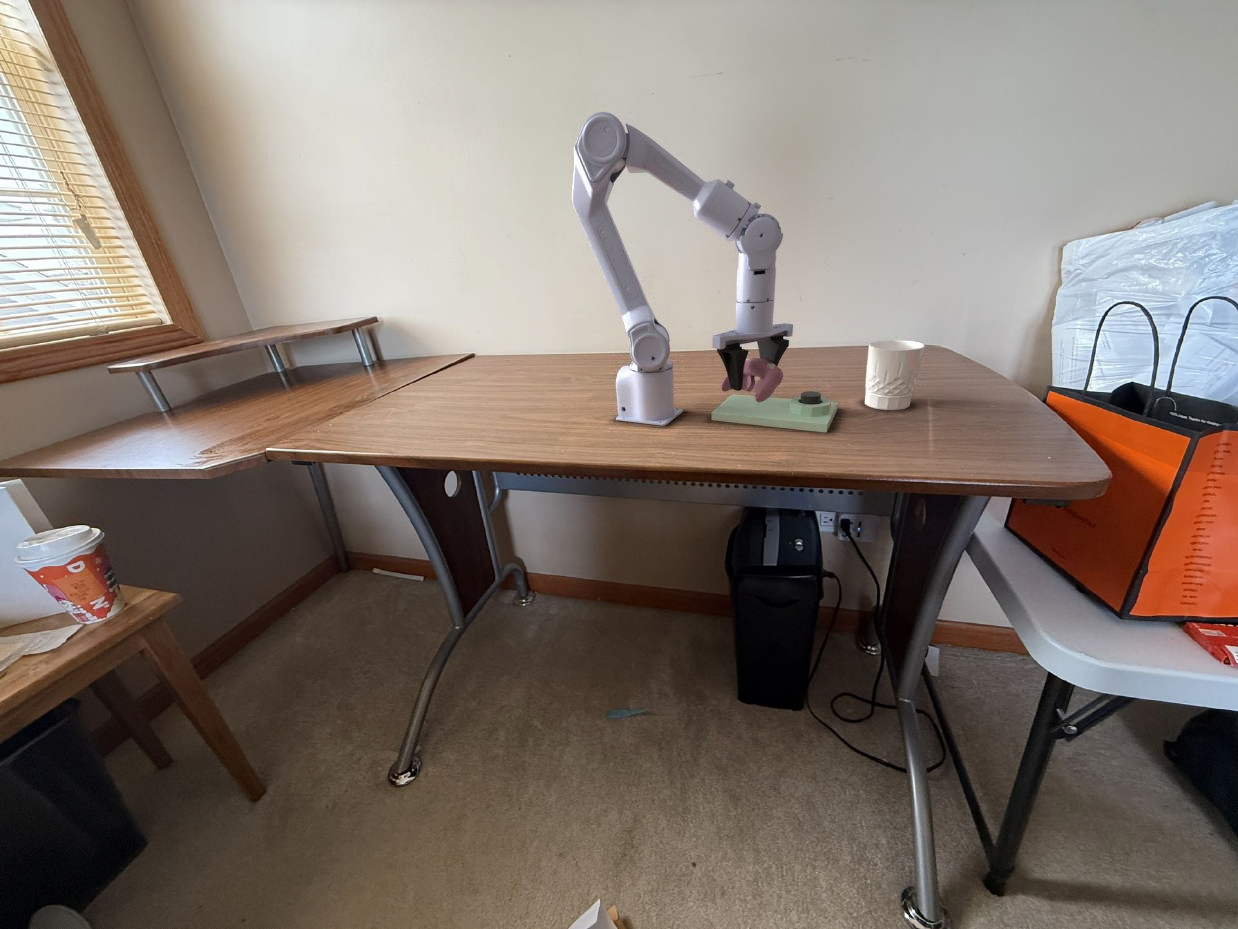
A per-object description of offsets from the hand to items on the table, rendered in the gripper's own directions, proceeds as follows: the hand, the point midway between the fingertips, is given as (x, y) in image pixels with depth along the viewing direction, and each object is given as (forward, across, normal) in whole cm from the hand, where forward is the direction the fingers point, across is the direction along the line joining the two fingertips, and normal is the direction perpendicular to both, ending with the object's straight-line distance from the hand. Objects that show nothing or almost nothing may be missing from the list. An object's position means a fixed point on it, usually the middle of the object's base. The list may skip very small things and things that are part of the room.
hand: (751, 385), depth 80 cm
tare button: (+2, -5, +8) cm, 10 cm away
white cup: (+5, -20, +10) cm, 23 cm away
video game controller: (+2, 0, 0) cm, 2 cm away
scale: (+5, -2, +3) cm, 6 cm away
